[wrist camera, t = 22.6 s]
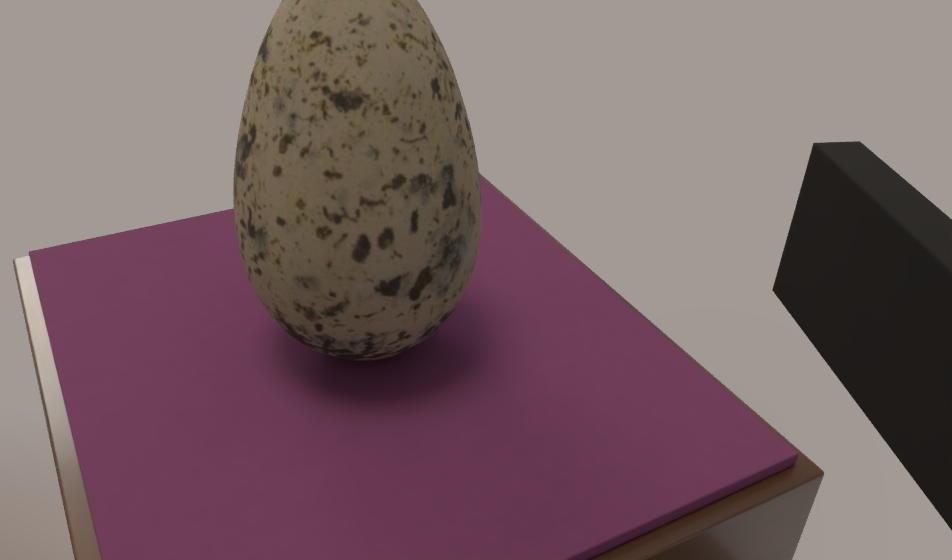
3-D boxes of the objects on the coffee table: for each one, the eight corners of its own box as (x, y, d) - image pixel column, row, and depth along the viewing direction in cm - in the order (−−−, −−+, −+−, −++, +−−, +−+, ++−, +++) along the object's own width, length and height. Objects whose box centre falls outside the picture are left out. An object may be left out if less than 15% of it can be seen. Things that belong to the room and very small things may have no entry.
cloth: (795, 465, 21) (799, 453, 21) (150, 762, 15) (146, 748, 14) (462, 169, 33) (462, 159, 33) (31, 262, 27) (28, 251, 27)
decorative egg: (512, 317, 25) (541, -49, 19) (397, 448, 20) (390, 21, 15) (340, 257, 27) (321, -87, 21) (203, 362, 23) (133, -36, 17)
